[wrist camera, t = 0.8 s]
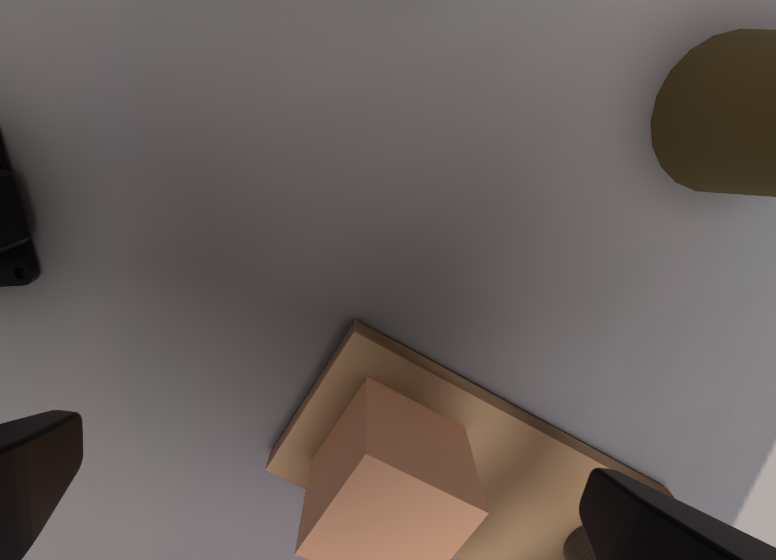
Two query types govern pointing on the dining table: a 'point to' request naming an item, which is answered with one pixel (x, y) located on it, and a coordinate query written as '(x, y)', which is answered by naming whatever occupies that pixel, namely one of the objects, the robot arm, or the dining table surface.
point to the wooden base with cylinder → (487, 441)
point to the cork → (721, 115)
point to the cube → (390, 484)
